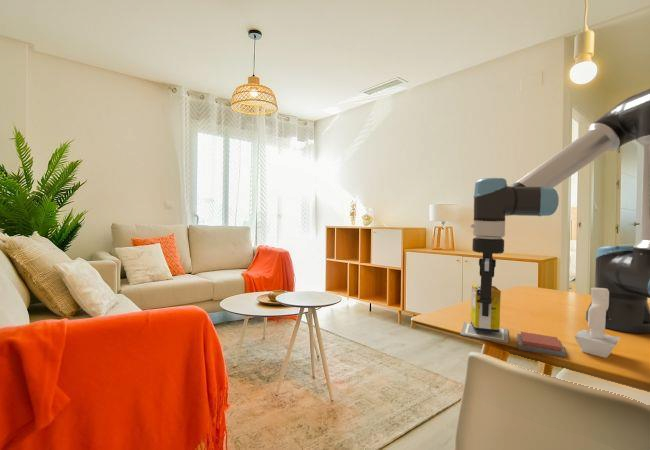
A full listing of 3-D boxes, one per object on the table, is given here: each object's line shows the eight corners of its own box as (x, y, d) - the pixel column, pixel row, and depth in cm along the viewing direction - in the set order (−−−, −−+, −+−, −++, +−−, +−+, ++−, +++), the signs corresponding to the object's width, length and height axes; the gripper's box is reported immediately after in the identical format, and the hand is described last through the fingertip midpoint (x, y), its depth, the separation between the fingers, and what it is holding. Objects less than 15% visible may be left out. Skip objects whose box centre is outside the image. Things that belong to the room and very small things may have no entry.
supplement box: (499, 333, 86) (501, 290, 86) (474, 331, 87) (476, 289, 87) (494, 325, 92) (495, 285, 91) (470, 323, 93) (471, 284, 93)
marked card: (507, 329, 92) (507, 328, 92) (508, 343, 82) (508, 341, 82) (464, 323, 97) (464, 321, 97) (460, 335, 87) (460, 333, 87)
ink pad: (559, 345, 82) (560, 337, 82) (565, 357, 75) (566, 348, 74) (517, 338, 86) (517, 330, 86) (518, 349, 79) (519, 340, 79)
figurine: (572, 352, 77) (575, 287, 77) (582, 342, 84) (585, 282, 83) (613, 363, 72) (616, 294, 71) (620, 352, 78) (623, 288, 78)
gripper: (475, 234, 99) (472, 312, 100) (470, 239, 82) (466, 332, 82) (503, 236, 96) (500, 316, 97) (505, 240, 78) (501, 338, 79)
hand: (485, 323), depth 90 cm, fingers open, 7 cm apart
